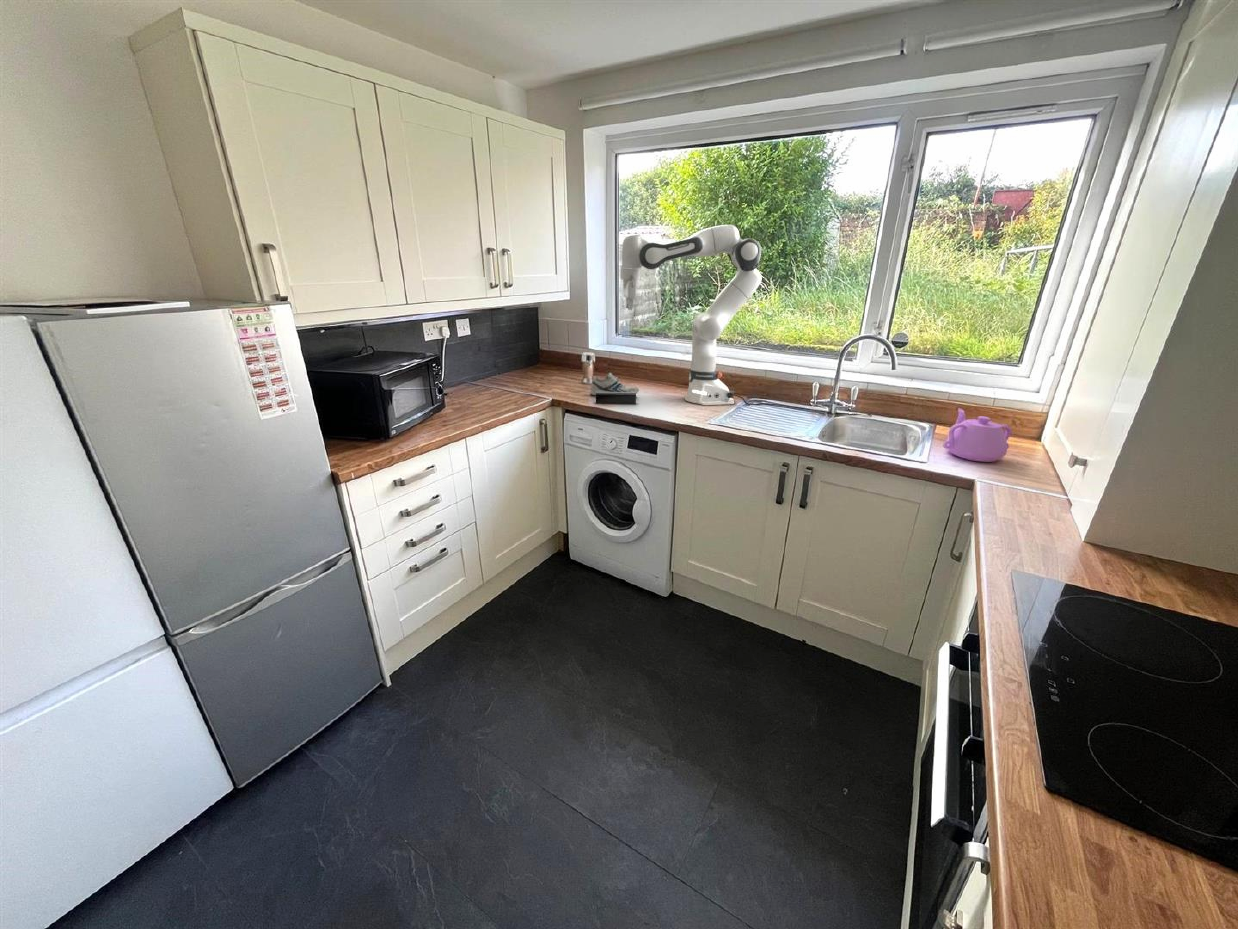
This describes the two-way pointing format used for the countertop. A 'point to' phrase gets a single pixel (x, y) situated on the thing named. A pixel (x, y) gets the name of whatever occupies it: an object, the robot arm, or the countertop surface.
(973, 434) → the teapot
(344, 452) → the countertop surface
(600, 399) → the shoe rack
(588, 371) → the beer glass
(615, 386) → the athletic shoe
